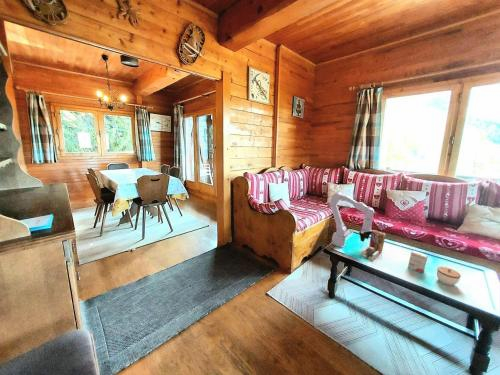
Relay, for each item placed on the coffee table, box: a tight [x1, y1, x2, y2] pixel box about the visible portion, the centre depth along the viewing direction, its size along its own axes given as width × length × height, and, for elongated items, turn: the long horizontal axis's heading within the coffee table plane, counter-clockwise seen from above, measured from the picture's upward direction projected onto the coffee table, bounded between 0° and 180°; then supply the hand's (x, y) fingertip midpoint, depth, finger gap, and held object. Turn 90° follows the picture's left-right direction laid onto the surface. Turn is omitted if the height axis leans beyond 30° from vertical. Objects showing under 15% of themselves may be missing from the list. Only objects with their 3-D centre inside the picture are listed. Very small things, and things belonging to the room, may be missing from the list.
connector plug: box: [365, 246, 376, 259], centre depth 162 cm, size 4×9×6 cm, turn 131°
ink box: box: [407, 250, 429, 274], centre depth 148 cm, size 9×5×12 cm, turn 42°
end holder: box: [361, 246, 379, 261], centre depth 164 cm, size 8×9×4 cm
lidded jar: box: [436, 266, 462, 287], centre depth 136 cm, size 11×11×9 cm
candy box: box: [368, 229, 386, 253], centre depth 172 cm, size 9×4×15 cm, turn 39°
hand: (364, 239), depth 168 cm, fingers open, 7 cm apart
